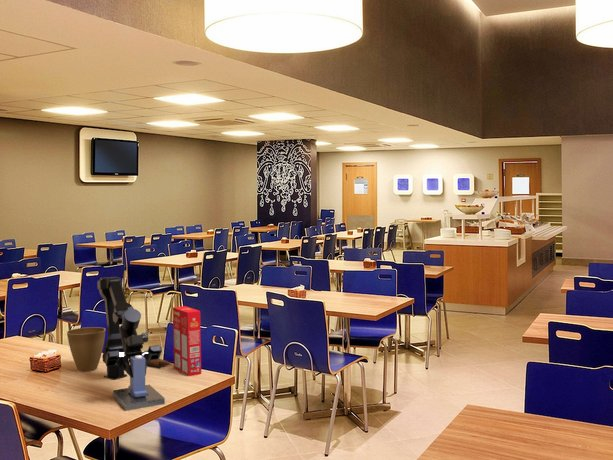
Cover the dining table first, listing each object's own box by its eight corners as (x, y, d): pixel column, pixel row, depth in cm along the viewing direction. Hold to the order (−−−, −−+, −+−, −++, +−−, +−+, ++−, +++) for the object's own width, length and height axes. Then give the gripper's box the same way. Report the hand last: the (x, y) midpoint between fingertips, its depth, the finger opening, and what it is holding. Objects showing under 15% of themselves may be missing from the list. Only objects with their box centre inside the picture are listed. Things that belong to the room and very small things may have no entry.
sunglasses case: (173, 363, 267) (167, 351, 264) (163, 375, 262) (157, 363, 259) (143, 358, 277) (136, 346, 274) (132, 369, 272) (126, 358, 269)
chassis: (113, 395, 225) (112, 390, 225) (149, 390, 231) (149, 384, 231) (125, 410, 209) (125, 404, 209) (164, 403, 216) (164, 398, 215)
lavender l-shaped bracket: (128, 394, 224) (128, 352, 223) (139, 392, 225) (139, 351, 225) (135, 402, 215) (135, 359, 214) (147, 401, 217) (147, 357, 216)
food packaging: (201, 374, 251) (200, 311, 250) (188, 376, 249) (187, 312, 247) (186, 366, 264) (184, 305, 262) (174, 368, 261) (172, 307, 259)
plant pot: (114, 367, 263) (113, 328, 262) (84, 376, 250) (83, 335, 249) (90, 362, 271) (89, 325, 270) (60, 370, 258) (58, 331, 257)
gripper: (106, 328, 218) (114, 367, 209) (159, 322, 227) (170, 360, 218) (101, 346, 225) (109, 385, 216) (153, 340, 234) (163, 377, 225)
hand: (138, 376), depth 218 cm, fingers closed on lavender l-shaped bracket, 4 cm apart
